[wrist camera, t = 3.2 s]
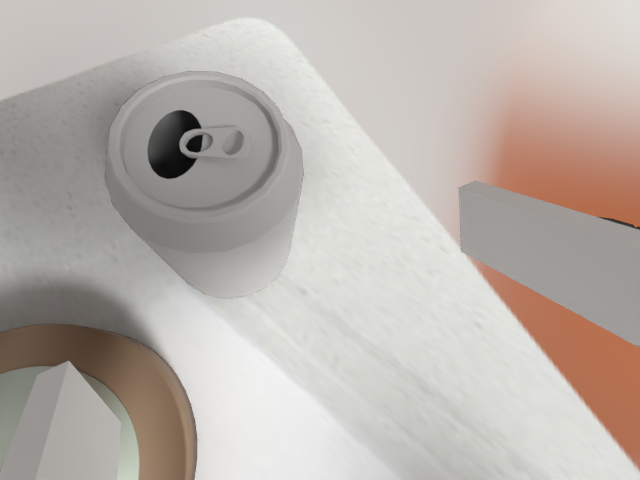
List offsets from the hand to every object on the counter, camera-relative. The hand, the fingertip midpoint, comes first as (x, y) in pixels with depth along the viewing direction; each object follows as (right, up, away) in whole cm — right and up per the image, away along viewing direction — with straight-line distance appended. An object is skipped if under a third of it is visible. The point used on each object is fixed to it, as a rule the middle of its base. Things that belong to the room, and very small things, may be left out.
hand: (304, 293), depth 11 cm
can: (-5, +1, +12) cm, 13 cm away
